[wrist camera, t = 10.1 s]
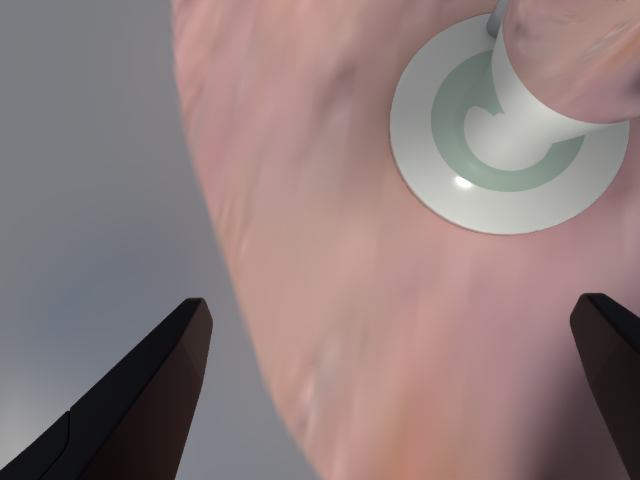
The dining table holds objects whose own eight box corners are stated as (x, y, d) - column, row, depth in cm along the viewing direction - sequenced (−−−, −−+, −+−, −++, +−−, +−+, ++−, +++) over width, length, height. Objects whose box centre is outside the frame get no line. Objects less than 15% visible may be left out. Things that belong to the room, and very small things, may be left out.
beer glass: (418, 131, 22) (542, -165, 7) (500, 42, 22) (783, -425, 8) (515, 211, 21) (880, 55, 6) (600, 118, 21) (1153, -246, 7)
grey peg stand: (626, 232, 22) (698, 219, 17) (392, 238, 23) (401, 228, 18) (605, 17, 23) (667, -49, 19) (385, 33, 24) (392, -25, 20)
